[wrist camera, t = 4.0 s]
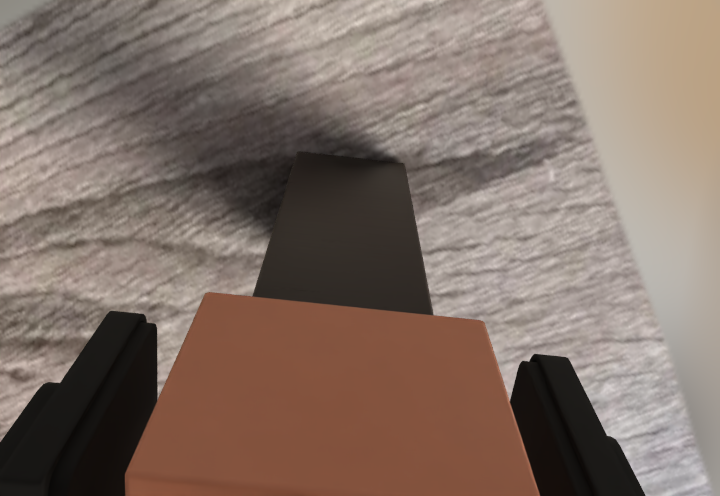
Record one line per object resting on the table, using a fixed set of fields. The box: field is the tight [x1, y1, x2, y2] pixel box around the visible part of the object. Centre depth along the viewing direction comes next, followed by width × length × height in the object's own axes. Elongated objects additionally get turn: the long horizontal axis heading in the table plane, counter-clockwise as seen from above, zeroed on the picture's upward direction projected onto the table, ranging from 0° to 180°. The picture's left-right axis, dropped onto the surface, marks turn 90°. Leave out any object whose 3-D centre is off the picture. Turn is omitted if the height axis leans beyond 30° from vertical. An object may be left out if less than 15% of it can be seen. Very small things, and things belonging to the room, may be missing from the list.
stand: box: [252, 152, 433, 315], centre depth 16 cm, size 3×3×10 cm
